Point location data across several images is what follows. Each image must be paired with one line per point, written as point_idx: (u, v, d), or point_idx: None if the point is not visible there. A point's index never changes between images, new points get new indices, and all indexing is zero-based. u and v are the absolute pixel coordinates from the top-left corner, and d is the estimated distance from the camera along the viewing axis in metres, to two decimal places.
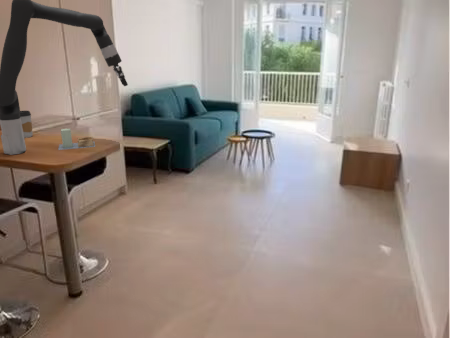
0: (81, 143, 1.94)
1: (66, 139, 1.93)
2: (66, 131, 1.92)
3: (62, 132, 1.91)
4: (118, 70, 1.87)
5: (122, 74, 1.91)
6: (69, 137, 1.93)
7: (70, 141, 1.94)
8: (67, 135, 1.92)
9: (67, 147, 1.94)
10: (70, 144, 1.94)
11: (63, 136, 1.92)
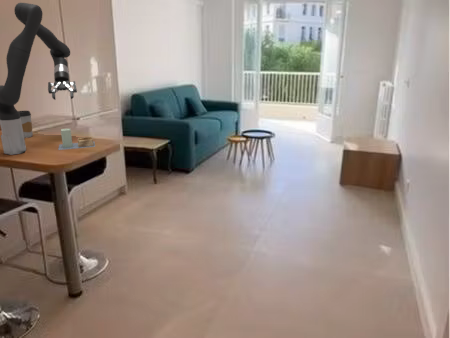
0: (81, 143, 1.94)
1: (66, 139, 1.93)
2: (66, 131, 1.92)
3: (62, 132, 1.91)
4: (75, 84, 2.04)
5: None
6: (69, 137, 1.93)
7: (70, 141, 1.94)
8: (67, 135, 1.92)
9: (67, 147, 1.94)
10: (70, 144, 1.94)
11: (63, 136, 1.92)
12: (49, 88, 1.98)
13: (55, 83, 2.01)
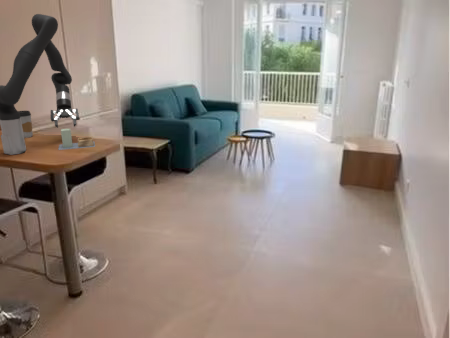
0: (81, 143, 1.94)
1: (66, 139, 1.93)
2: (66, 131, 1.92)
3: (62, 132, 1.91)
4: None
5: None
6: (69, 137, 1.93)
7: (70, 141, 1.94)
8: (67, 135, 1.92)
9: (67, 147, 1.94)
10: (70, 144, 1.94)
11: (63, 136, 1.92)
12: (52, 116, 1.98)
13: (57, 111, 2.00)
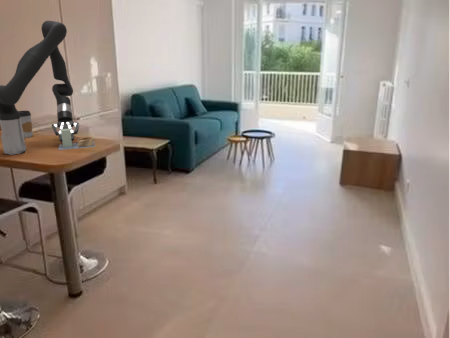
0: (81, 143, 1.94)
1: (66, 139, 1.93)
2: (66, 131, 1.92)
3: (62, 132, 1.91)
4: (78, 126, 1.98)
5: None
6: (69, 137, 1.93)
7: (70, 141, 1.94)
8: (67, 135, 1.92)
9: (67, 147, 1.94)
10: (70, 144, 1.94)
11: (63, 136, 1.92)
12: (55, 130, 1.93)
13: (58, 123, 1.95)
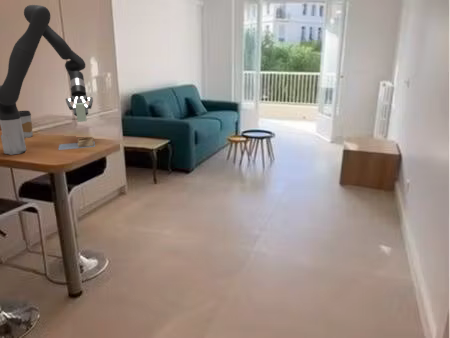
0: (81, 143, 1.94)
1: (80, 113, 1.92)
2: (80, 105, 1.91)
3: (76, 106, 1.90)
4: (92, 101, 1.97)
5: None
6: (83, 111, 1.92)
7: (84, 115, 1.93)
8: (81, 109, 1.91)
9: (67, 147, 1.94)
10: (84, 118, 1.93)
11: (77, 110, 1.91)
12: (69, 104, 1.92)
13: (72, 98, 1.94)
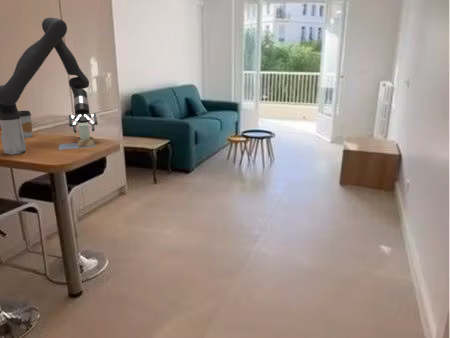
0: (81, 143, 1.94)
1: (84, 134, 1.95)
2: (84, 126, 1.94)
3: (80, 127, 1.93)
4: None
5: None
6: (87, 132, 1.95)
7: (88, 136, 1.96)
8: (85, 130, 1.95)
9: (67, 147, 1.94)
10: (88, 139, 1.96)
11: (81, 131, 1.94)
12: (70, 121, 1.95)
13: (76, 116, 1.97)
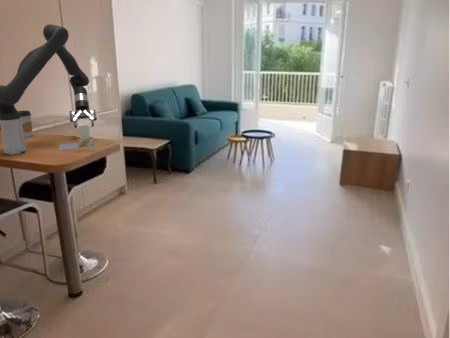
0: (81, 143, 1.94)
1: (84, 134, 1.95)
2: (84, 126, 1.94)
3: (80, 127, 1.93)
4: (95, 113, 2.12)
5: None
6: (87, 132, 1.95)
7: (88, 136, 1.96)
8: (85, 130, 1.95)
9: (67, 147, 1.94)
10: (88, 139, 1.96)
11: (81, 131, 1.94)
12: (71, 117, 2.06)
13: (76, 112, 2.09)
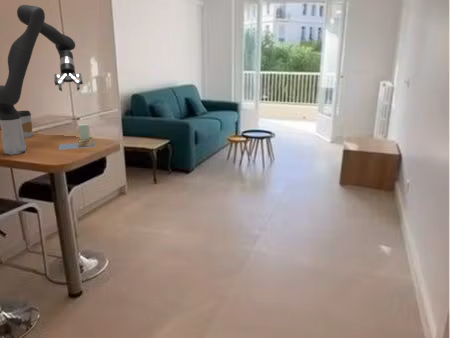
0: (81, 143, 1.94)
1: (84, 134, 1.95)
2: (84, 126, 1.94)
3: (80, 127, 1.93)
4: (81, 76, 2.07)
5: None
6: (87, 132, 1.95)
7: (88, 136, 1.96)
8: (85, 130, 1.95)
9: (67, 147, 1.94)
10: (88, 139, 1.96)
11: (81, 131, 1.94)
12: (55, 80, 2.01)
13: (61, 75, 2.03)
